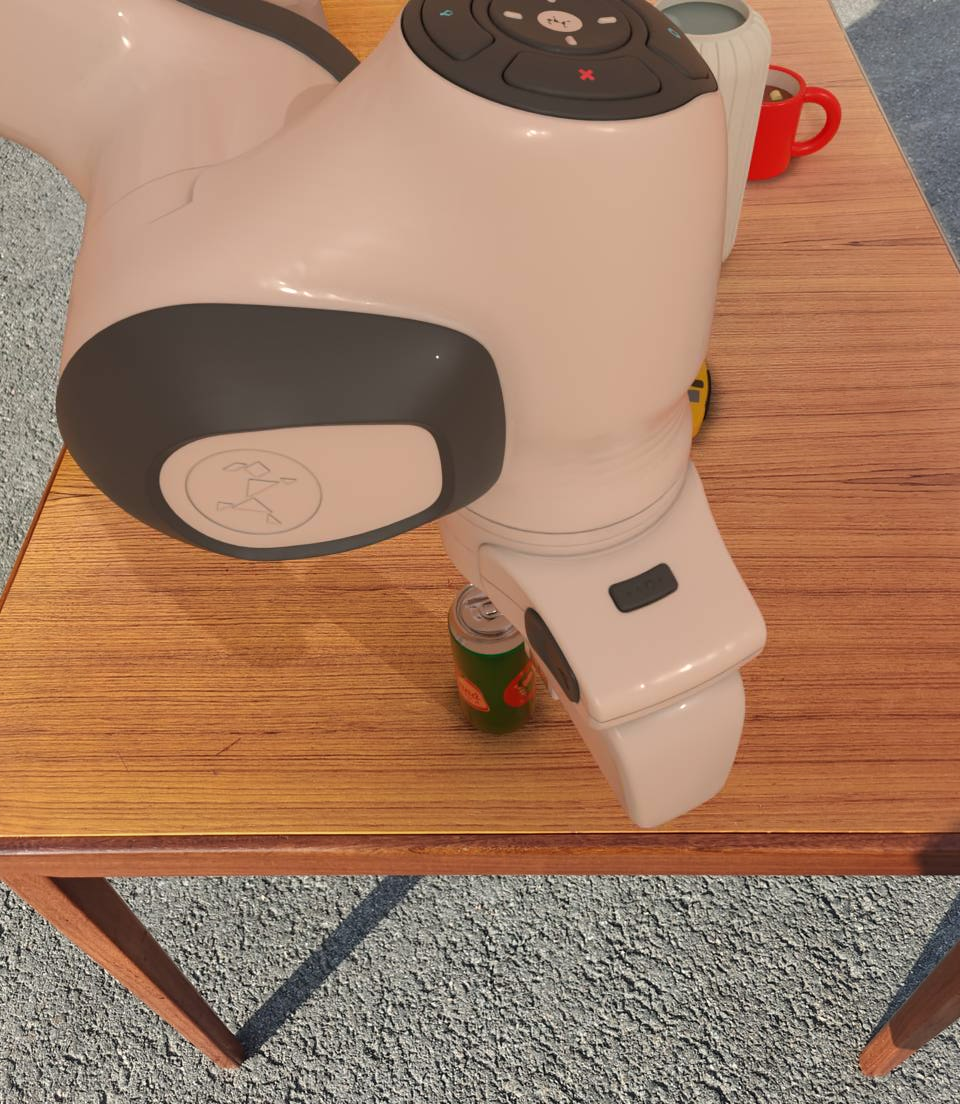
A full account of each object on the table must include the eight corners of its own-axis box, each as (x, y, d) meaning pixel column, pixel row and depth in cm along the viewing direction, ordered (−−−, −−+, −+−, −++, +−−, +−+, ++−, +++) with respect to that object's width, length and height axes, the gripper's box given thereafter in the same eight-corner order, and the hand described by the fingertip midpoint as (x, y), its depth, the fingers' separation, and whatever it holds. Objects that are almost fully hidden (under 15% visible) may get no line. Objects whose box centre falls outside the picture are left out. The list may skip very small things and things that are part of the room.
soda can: (450, 685, 63) (433, 587, 53) (519, 660, 64) (515, 559, 54) (476, 749, 60) (463, 659, 50) (548, 722, 61) (549, 628, 51)
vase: (740, 293, 85) (792, 44, 67) (614, 299, 85) (632, 53, 67) (720, 218, 92) (763, -27, 74) (603, 224, 92) (618, -18, 74)
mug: (835, 179, 94) (856, 103, 88) (715, 180, 95) (728, 105, 89) (824, 136, 99) (843, 62, 93) (710, 138, 100) (721, 64, 94)
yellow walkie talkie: (714, 348, 78) (707, 482, 70) (711, 365, 80) (704, 499, 71) (656, 343, 79) (642, 476, 70) (654, 360, 80) (640, 493, 72)
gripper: (369, 341, 38) (411, 540, 49) (622, 759, 27) (601, 894, 38) (507, 292, 39) (517, 497, 51) (803, 671, 28) (732, 827, 39)
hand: (555, 670), depth 44 cm, fingers closed
